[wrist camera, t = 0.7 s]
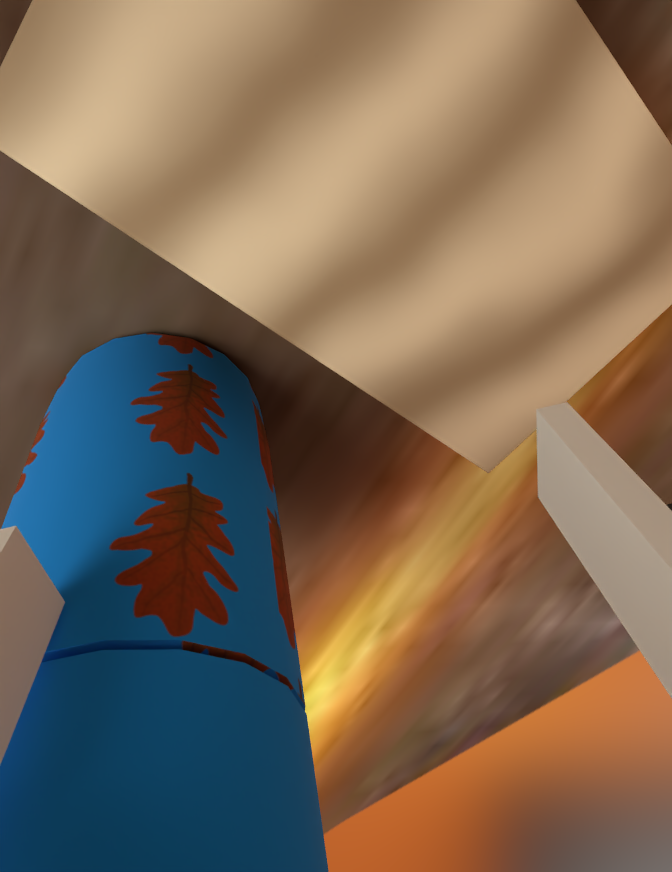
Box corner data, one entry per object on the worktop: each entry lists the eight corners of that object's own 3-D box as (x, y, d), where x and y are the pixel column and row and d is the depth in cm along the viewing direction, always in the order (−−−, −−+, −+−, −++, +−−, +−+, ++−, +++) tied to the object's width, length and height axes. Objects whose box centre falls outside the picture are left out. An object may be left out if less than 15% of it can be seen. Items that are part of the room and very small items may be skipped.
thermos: (75, 298, 26) (-296, 1191, 7) (292, 365, 30) (450, 1041, 11) (36, 473, 32) (-232, 1251, 12) (226, 510, 36) (251, 1135, 16)
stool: (25, 101, 22) (-30, 130, 16) (239, -317, 17) (261, -476, 12) (440, 398, 34) (488, 473, 29) (633, 200, 29) (737, 244, 24)
